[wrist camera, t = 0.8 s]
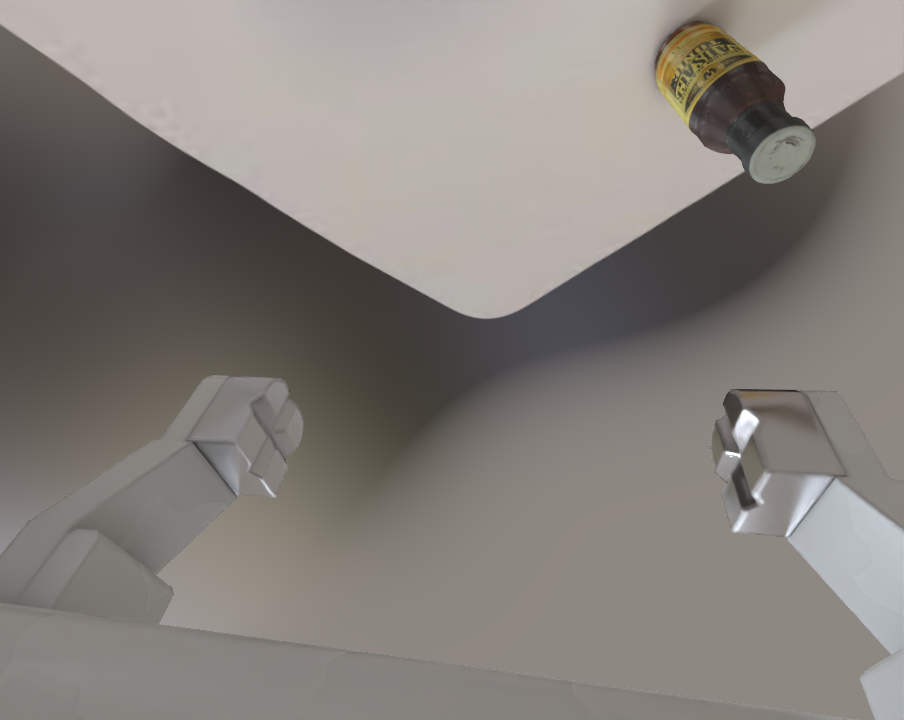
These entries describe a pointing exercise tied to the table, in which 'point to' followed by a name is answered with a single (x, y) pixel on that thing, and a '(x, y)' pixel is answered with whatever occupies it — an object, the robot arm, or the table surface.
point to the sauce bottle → (732, 102)
